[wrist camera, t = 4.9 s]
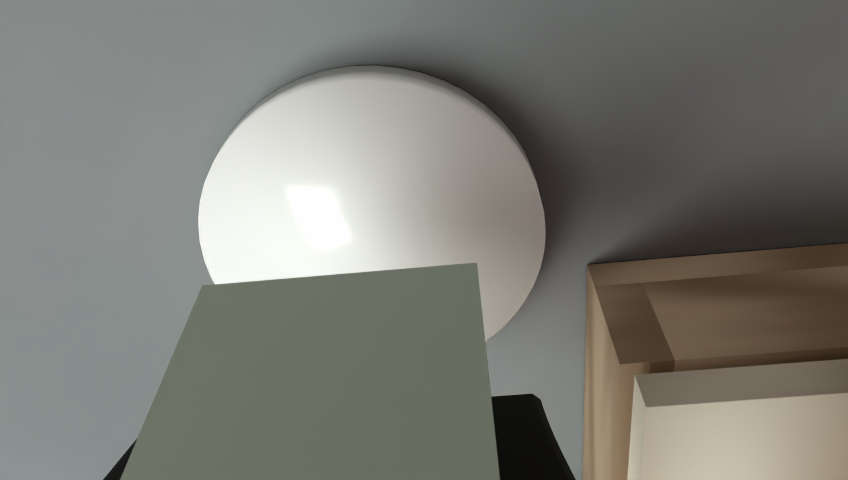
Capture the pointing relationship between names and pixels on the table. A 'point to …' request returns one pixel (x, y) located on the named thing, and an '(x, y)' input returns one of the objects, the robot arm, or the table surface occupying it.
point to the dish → (374, 187)
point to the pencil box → (702, 327)
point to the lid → (742, 423)
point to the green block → (327, 382)
